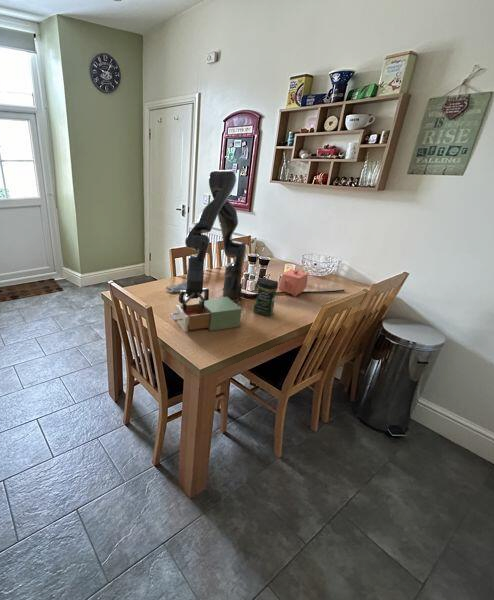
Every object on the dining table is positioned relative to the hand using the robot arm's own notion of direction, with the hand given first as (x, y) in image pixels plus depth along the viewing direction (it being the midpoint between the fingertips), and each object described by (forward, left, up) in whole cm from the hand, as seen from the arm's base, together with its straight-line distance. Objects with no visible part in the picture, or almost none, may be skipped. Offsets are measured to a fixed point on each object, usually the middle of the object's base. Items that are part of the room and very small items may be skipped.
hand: (193, 309), depth 156 cm
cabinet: (-14, 0, -9) cm, 16 cm away
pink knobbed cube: (-74, -22, -9) cm, 78 cm away
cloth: (-14, -46, -9) cm, 49 cm away
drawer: (+1, 0, -8) cm, 8 cm away
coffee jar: (-42, -3, -9) cm, 43 cm away
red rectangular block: (0, 0, -7) cm, 7 cm away
